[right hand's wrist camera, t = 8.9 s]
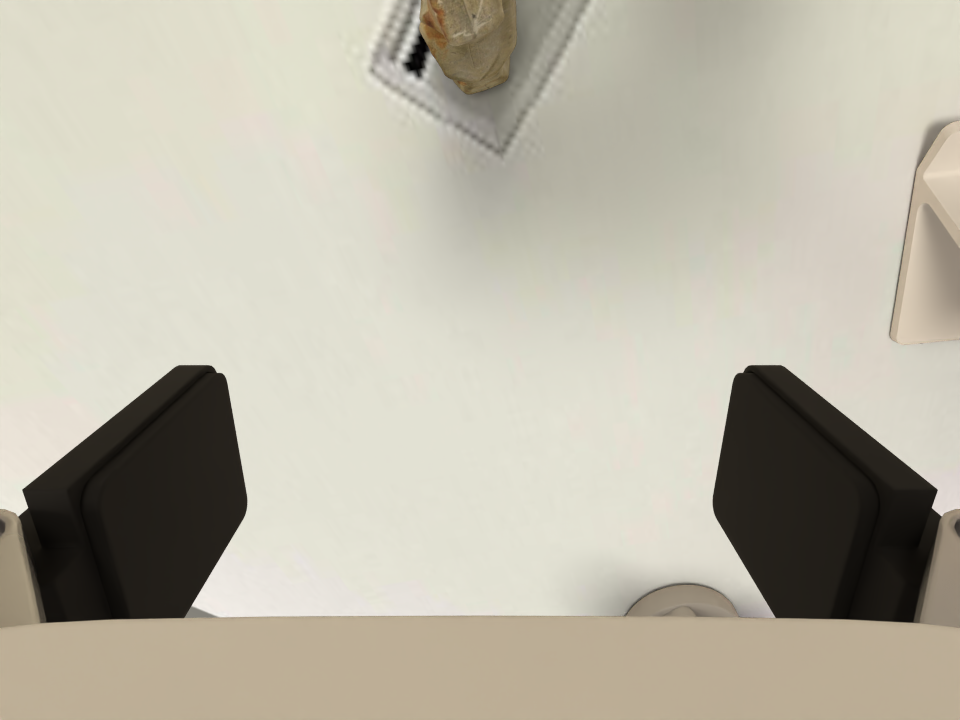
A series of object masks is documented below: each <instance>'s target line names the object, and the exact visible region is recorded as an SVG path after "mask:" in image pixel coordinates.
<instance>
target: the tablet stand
mask: <svg viewBox="0 0 960 720" xmlns="http://www.w3.org/2000/svg"><path fill="white" fill-rule="evenodd" d="M890 336H891V339H892V340H894V341H895V342H897V343H899V344H901V345H908V344H919V343H929V342H939V341H949V340H959V339H960V121H956V122H953V123H950V124H949V125H947V126H946V127H944V128H943V129H942V130H941V132H940V133H939V135H938V136H937V138H936V139H935V141H934V143H933V144H932V146H931V147H930V149H929V151H928V152H927V154H926V156H925V157H924V159H923V160H922V162H921V164H920V165H919V167H918V168H917V171H916V177H915V183H914V189H913V196H912V202H911V208H910V214H909V221H908V227H907V233H906V240H905V246H904V252H903V258H902V265H901V271H900V277H899V283H898V290H897V296H896V302H895V308H894V315H893V321H892V327H891V333H890Z"/></svg>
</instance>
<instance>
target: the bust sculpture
mask: <svg viewBox="0 0 960 720" xmlns="http://www.w3.org/2000/svg"><path fill="white" fill-rule="evenodd" d="M626 616H656V617H736V618H739V616H738V614H737V612H736V610H735V608H734V607H733V605H732V604H731V602H730V601H729V600H728V599H727V598H726V597H724V596H723V595H722V594H720V593H718V592H716V591H714V590H712V589H709V588H706V587H702V586H697V585H677V586H671V587H666V588H663V589H660V590H657V591H655V592H653V593H651V594H649V595H647V596H645V597H644V598H642V599H641V600H640V601H638V602H637V603H636V604H635V605H634V606H633V607H632V608H631V609H630V611H629V612H628V613H627V615H626Z"/></svg>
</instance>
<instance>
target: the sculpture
mask: <svg viewBox="0 0 960 720" xmlns="http://www.w3.org/2000/svg"><path fill="white" fill-rule="evenodd" d="M420 21H421V23H420V26H419V30H420V32H421V34H422V36H423V38H424V40H425V41H426V43H427V45H428V47H429V49H430V51H431V54H432V55H433V56H434V58H435V59H436V61H437V62H438V64H439V65H440V67H441V68H442V70H443V72H444V74H445V76H447V77H448V78H450V79H453V81H454V82H455V83H456V85H457V86H458V87H459V88H460V89H461V90H462V91H463V92H464V93H465V94H474V93H477V92H481V91H484V90H487V89H489V88H492V87H494V86H496V85H499V84H501V83H503V82H505V81H506V80H507V79H508V76H509V67H510V54H511V53H512V51H513V50H514V48H515V46H516V41H517V29H516V1H515V0H421V10H420Z"/></svg>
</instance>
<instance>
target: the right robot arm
mask: <svg viewBox="0 0 960 720" xmlns="http://www.w3.org/2000/svg"><path fill="white" fill-rule="evenodd" d="M22 491H23V494H24V496H25V499H26V502H27V505H28V509H27V510H26V511H24V512H23V513H22V514H21V515H20V516H19V517H18V516H17V515H16V513H13V512H11V511H8V510H5V509H0V720H960V509H955V510H952V511H949V512H947V513H944V515H943V516H942V517H941V516H940V515H939V514H938V513H937V512H936V511H934V510H933V509H932V505H933V502H934V499H935V496H936V494H937V491H938V490H937V489H936V488H935V487H934V486H932V485H931V484H930V483H929V482H927V481H926V480H925V479H924V478H922V477H921V476H920V475H919V474H917V473H916V472H915V471H914V470H912V469H911V468H910V467H909V466H907V465H906V464H905V463H904V462H902V461H901V460H900V459H899V458H897V457H896V456H895V455H894V454H892V453H891V452H890V451H889V450H887V449H886V448H885V447H884V446H882V445H881V444H880V443H879V442H877V441H876V440H875V439H874V438H872V437H871V436H870V435H869V434H867V433H866V432H865V431H864V430H863V429H861V428H860V427H859V426H858V425H856V424H855V423H854V422H853V421H851V420H850V419H849V418H848V417H846V416H845V415H844V414H843V413H841V412H840V411H839V410H838V409H836V408H835V407H834V406H833V405H831V404H830V403H829V402H828V401H826V400H825V399H824V398H823V397H821V396H820V395H819V394H818V393H816V392H815V391H814V390H813V389H811V388H810V387H809V386H808V385H806V384H805V383H804V382H803V381H801V380H800V379H799V378H798V377H796V376H795V375H794V374H793V373H791V372H790V371H789V370H788V369H786V368H785V367H783V366H781V365H751V366H748V367H747V368H746V369H745V370H744V372H743V373H738V374H737V375H736V376H735V378H734V380H733V385H732V390H731V396H730V402H729V408H728V413H727V419H726V425H725V431H724V436H723V442H722V448H721V453H720V459H719V465H718V471H717V476H716V482H715V488H714V494H713V510H714V514H715V516H716V518H717V520H718V522H719V524H720V525H721V527H722V529H723V530H724V532H725V534H726V535H727V537H728V539H729V540H730V542H731V544H732V545H733V547H734V549H735V550H736V552H737V554H738V555H739V557H740V559H741V560H742V562H743V564H744V565H745V567H746V569H747V570H748V572H749V574H750V575H751V577H752V579H753V580H754V582H755V584H756V585H757V587H758V589H759V590H760V592H761V594H762V595H763V597H764V599H765V601H766V602H767V604H768V606H769V607H770V609H771V611H772V612H773V614H774V616H775V617H776V618H736V617H656V616H304V617H223V618H184V617H185V616H186V614H187V612H188V611H189V609H190V607H191V606H192V604H193V602H194V601H195V599H196V597H197V595H198V594H199V592H200V590H201V589H202V587H203V585H204V584H205V582H206V580H207V579H208V577H209V575H210V574H211V572H212V570H213V569H214V567H215V565H216V564H217V562H218V560H219V559H220V557H221V555H222V554H223V552H224V550H225V549H226V547H227V545H228V544H229V542H230V540H231V539H232V537H233V535H234V534H235V532H236V530H237V529H238V527H239V525H240V524H241V522H242V520H243V518H244V516H245V514H246V510H247V494H246V488H245V482H244V476H243V471H242V465H241V459H240V453H239V448H238V442H237V436H236V431H235V425H234V419H233V413H232V408H231V402H230V396H229V390H228V385H227V380H226V378H225V376H224V375H223V374H222V373H217V372H216V370H215V369H214V368H213V367H212V366H209V365H179V366H177V367H175V368H174V369H172V370H171V371H170V372H169V373H167V374H166V375H165V376H164V377H162V378H161V379H160V380H159V381H157V382H156V383H155V384H154V385H152V386H151V387H150V388H149V389H147V390H146V391H145V392H144V393H142V394H141V395H140V396H139V397H137V398H136V399H135V400H134V401H132V402H131V403H130V404H129V405H127V406H126V407H125V408H124V409H122V410H121V411H120V412H119V413H117V414H116V415H115V416H114V417H112V418H111V419H110V420H109V421H107V422H106V423H105V424H104V425H102V426H101V427H100V428H99V429H97V430H96V431H95V432H94V433H92V434H91V435H90V436H89V437H88V438H86V439H85V440H84V441H83V442H81V443H80V444H79V445H78V446H76V447H75V448H74V449H73V450H71V451H70V452H69V453H68V454H66V455H65V456H64V457H63V458H61V459H60V460H59V461H58V462H56V463H55V464H54V465H53V466H51V467H50V468H49V469H48V470H46V471H45V472H44V473H43V474H41V475H40V476H39V477H38V478H36V479H35V480H34V481H33V482H31V483H30V484H29V485H28V486H26V487H25V488H24V489H23V490H22Z"/></svg>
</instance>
